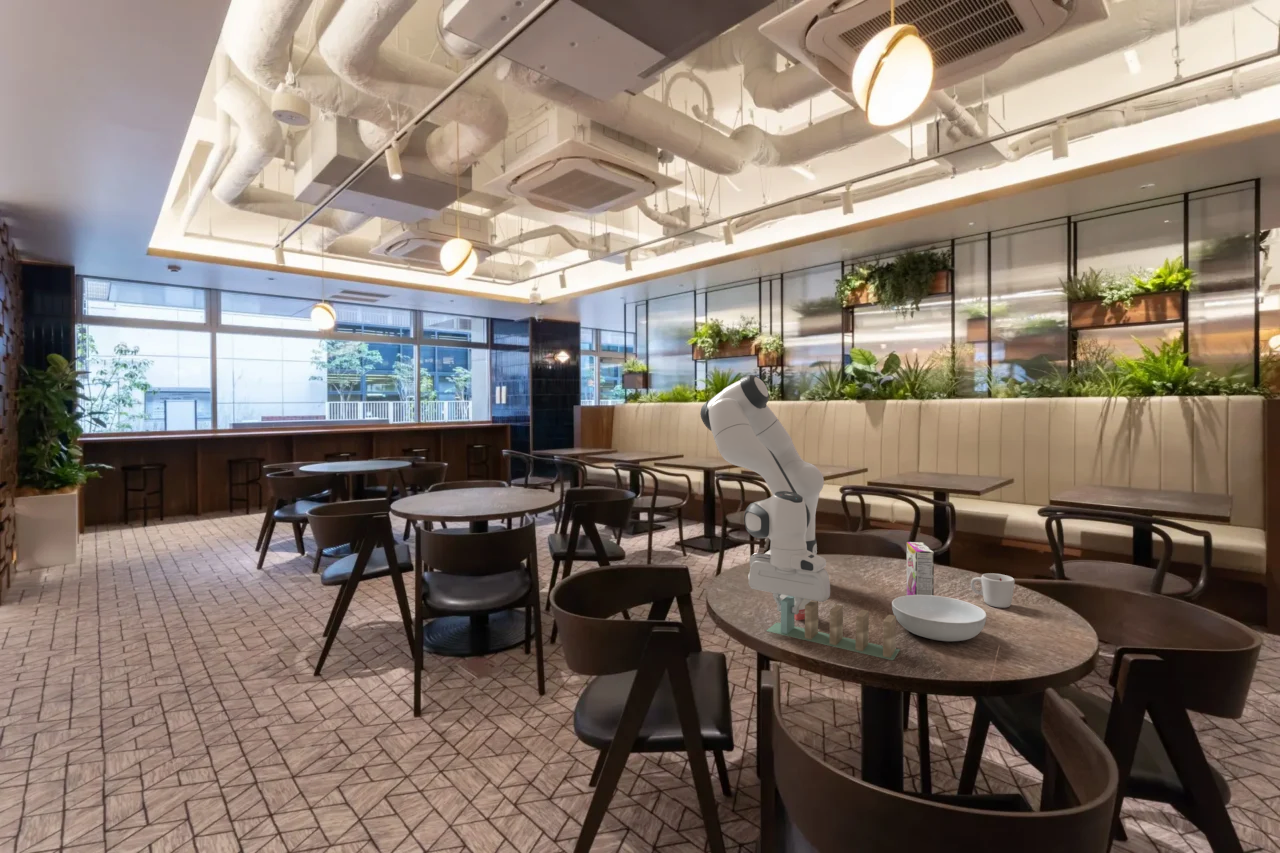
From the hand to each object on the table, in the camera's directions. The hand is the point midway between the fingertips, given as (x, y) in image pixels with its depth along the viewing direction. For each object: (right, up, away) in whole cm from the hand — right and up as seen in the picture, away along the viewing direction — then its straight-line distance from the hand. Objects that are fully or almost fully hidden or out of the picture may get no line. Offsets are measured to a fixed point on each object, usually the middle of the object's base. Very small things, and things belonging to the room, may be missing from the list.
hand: (787, 612), depth 149 cm
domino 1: (0, -5, 0) cm, 5 cm away
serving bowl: (+36, -5, -2) cm, 37 cm away
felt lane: (+9, -5, -6) cm, 12 cm away
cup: (+63, -4, +20) cm, 66 cm away
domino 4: (+15, -5, -10) cm, 19 cm away
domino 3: (+10, -5, -7) cm, 13 cm away
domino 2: (+5, -5, -3) cm, 8 cm away
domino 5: (+20, -5, -14) cm, 24 cm away
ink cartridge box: (+4, -5, +12) cm, 13 cm away
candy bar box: (+42, -4, +20) cm, 47 cm away
